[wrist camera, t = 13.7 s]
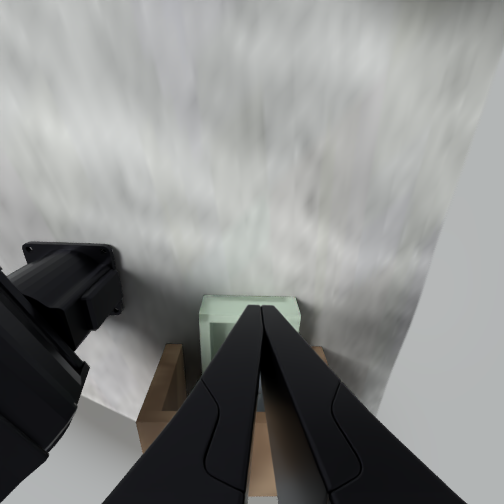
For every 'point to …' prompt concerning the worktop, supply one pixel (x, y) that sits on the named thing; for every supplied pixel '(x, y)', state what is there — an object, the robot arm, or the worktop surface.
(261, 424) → the shelf
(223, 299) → the tray
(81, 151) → the worktop surface
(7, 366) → the robot arm
